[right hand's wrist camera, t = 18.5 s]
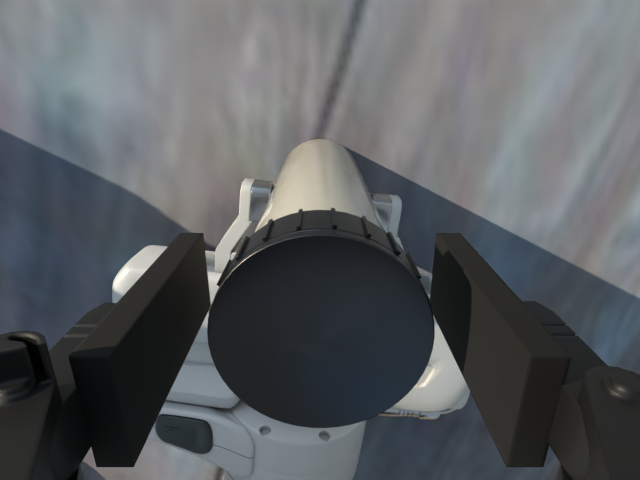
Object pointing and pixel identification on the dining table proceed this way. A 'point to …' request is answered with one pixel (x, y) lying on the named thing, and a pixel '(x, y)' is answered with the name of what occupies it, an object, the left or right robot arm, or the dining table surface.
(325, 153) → the white tall cylinder
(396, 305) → the lid
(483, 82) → the dining table surface
